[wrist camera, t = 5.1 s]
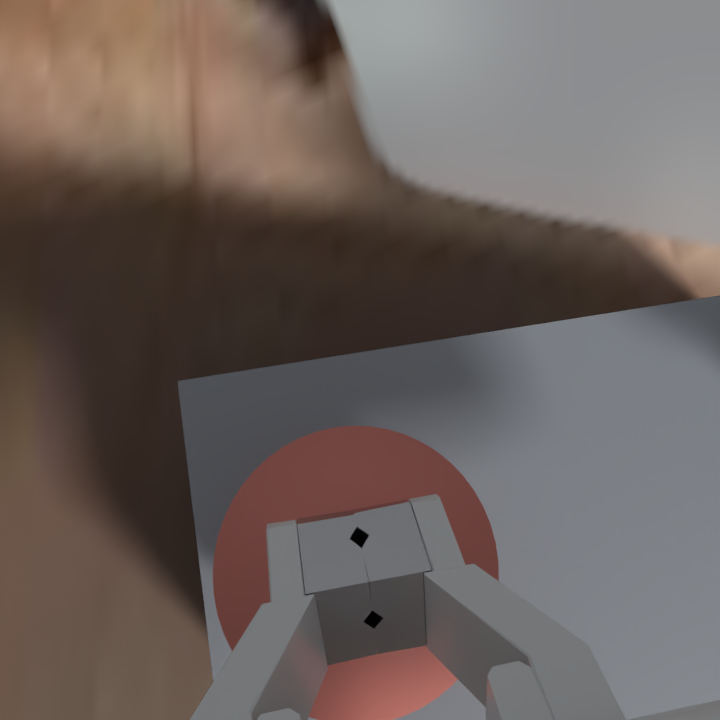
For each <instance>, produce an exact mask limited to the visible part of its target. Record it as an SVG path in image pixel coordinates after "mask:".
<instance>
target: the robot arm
mask: <svg viewBox="0 0 720 720" xmlns="http://www.w3.org/2000/svg"><path fill="white" fill-rule="evenodd" d="M266 539H267V555H268V571H269V587H270V602H269V603H264V604H261V606H260V608H259V609H258V611H257V612H256V614H255V616H254V617H253V619H252V621H251V622H250V624H249V625H248V627H247V629H246V630H245V632H244V633H243V635H242V637H241V638H240V640H239V641H238V643H237V645H236V646H235V648H234V650H233V651H232V653H231V654H230V656H229V658H228V659H227V661H226V662H225V664H224V666H223V667H222V669H221V670H220V672H219V674H218V675H217V677H216V678H215V680H214V682H213V683H212V685H211V687H210V688H209V690H208V691H207V693H206V695H205V696H204V698H203V699H202V701H201V703H200V704H199V706H198V707H197V709H196V711H195V712H194V714H193V716H192V717H191V719H190V720H307V719H308V716H309V714H310V712H311V709H312V707H313V704H314V702H315V699H316V697H317V694H318V692H319V690H320V687H321V685H322V682H323V680H324V677H325V675H326V672H327V670H328V666H327V665H332V664H336V663H340V662H345V661H349V660H353V659H358V658H362V657H367V656H371V655H375V654H381V653H386V652H392V651H398V650H404V649H410V648H416V647H421V646H427V648H428V649H429V650H430V651H431V652H432V653H433V654H434V656H435V657H436V658H437V659H438V660H439V661H440V662H441V663H442V664H443V665H444V666H445V667H446V668H447V669H448V670H449V671H450V672H451V673H452V674H453V675H454V676H455V677H456V678H457V679H458V680H459V681H460V682H461V683H462V684H463V685H464V686H465V687H466V688H467V689H468V690H469V691H470V692H471V693H472V694H473V695H474V696H475V697H476V698H477V699H478V700H479V701H480V702H481V703H482V704H483V705H484V706H485V707H486V720H626V718H625V716H624V714H623V712H622V711H621V709H620V707H619V705H618V703H617V701H616V699H615V697H614V695H613V693H612V691H611V689H610V687H609V685H608V683H607V681H606V679H605V677H604V675H603V673H602V671H601V669H600V667H599V665H598V663H597V661H596V659H595V657H594V655H593V653H592V651H591V649H590V648H589V646H588V644H586V643H585V642H583V641H582V640H581V639H579V638H578V637H576V636H575V635H574V634H572V633H571V632H569V631H568V630H566V629H565V628H564V627H562V626H561V625H559V624H558V623H557V622H555V621H554V620H552V619H551V618H550V617H548V616H547V615H545V614H544V613H543V612H541V611H540V610H538V609H537V608H536V607H534V606H533V605H531V604H530V603H529V602H527V601H526V600H524V599H523V598H522V597H520V596H519V595H517V594H516V593H515V592H513V591H512V590H510V589H509V588H508V587H506V586H505V585H503V584H502V583H501V582H499V581H498V580H496V579H495V578H493V577H492V576H491V575H489V574H488V573H486V572H485V571H484V570H482V569H481V568H479V567H478V566H477V565H475V564H469V565H465V562H464V559H463V557H462V554H461V552H460V549H459V546H458V544H457V541H456V539H455V536H454V533H453V531H452V528H451V525H450V523H449V520H448V518H447V515H446V512H445V510H444V507H443V504H442V502H441V499H440V497H439V496H438V495H437V494H432V495H427V496H422V497H416V498H411V499H409V500H407V499H406V500H401V501H395V502H390V503H385V504H379V505H374V506H369V507H364V508H358V509H353V510H350V511H343V512H337V513H330V514H324V515H317V516H311V517H304V518H298V519H297V521H296V520H289V521H282V522H276V523H269V524H267V528H266ZM628 720H720V700H715V701H711V702H706V703H701V704H697V705H692V706H688V707H683V708H678V709H674V710H669V711H665V712H660V713H655V714H651V715H646V716H642V717H637V718H633V719H628Z"/></svg>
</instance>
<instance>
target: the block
mask: <svg viewBox="0 0 720 720" xmlns="http://www.w3.org/2000/svg"><path fill="white" fill-rule="evenodd" d="M177 382H178V391H179V399H180V407H181V416H182V424H183V432H184V441H185V449H186V457H187V466H188V474H189V482H190V491H191V499H192V507H193V516H194V524H195V532H196V541H197V549H198V557H199V566H200V574H201V582H202V591H203V599H204V607H205V616H206V624H207V632H208V640H209V649H210V657H211V665H212V674H213V682H214V680H215V678H216V677H217V675H218V674H219V672H220V670H221V669H222V667H223V666H224V664H225V662H226V661H227V659H228V658H229V656H230V654H231V653H232V650H231V648H230V646H229V644H228V642H227V640H226V638H225V636H224V633H223V630H222V627H221V624H220V621H219V618H218V615H217V609H216V604H215V599H214V589H213V564H214V553H215V548H216V543H217V538H218V534H219V531H220V528H221V525H222V522H223V519H224V517H225V515H226V513H227V511H228V508H229V506H230V504H231V502H232V500H233V499H234V497H235V496H236V494H237V492H238V491H239V489H240V488H241V486H242V485H243V483H244V482H245V481H246V480H247V479H248V477H249V476H250V475H251V474H252V473H253V471H254V470H255V469H256V468H257V467H258V466H260V465H261V464H262V463H263V462H264V461H265V460H266V459H267V458H268V457H270V456H271V455H272V454H274V453H275V452H277V451H278V450H279V449H281V448H282V447H284V446H286V445H287V444H289V443H291V442H293V441H295V440H297V439H299V438H301V437H304V436H306V435H309V434H312V433H314V432H317V431H321V430H326V429H330V428H334V427H344V426H371V427H377V428H384V429H389V430H392V431H395V432H399V433H402V434H405V435H407V436H410V437H412V438H414V439H416V440H418V441H421V442H422V443H424V444H426V445H427V446H429V447H431V448H432V449H434V450H435V451H437V452H438V453H439V454H441V455H442V456H443V457H444V458H446V459H447V460H448V461H449V462H450V463H451V464H452V465H453V466H454V467H455V468H456V469H457V470H458V471H459V472H460V473H461V474H462V475H463V476H464V477H465V479H466V480H467V481H468V483H469V484H470V486H471V487H472V488H473V490H474V491H475V493H476V495H477V496H478V498H479V500H480V502H481V503H482V505H483V507H484V509H485V512H486V514H487V517H488V519H489V521H490V524H491V527H492V531H493V535H494V538H495V542H496V548H497V555H498V566H499V582H501V583H502V584H503V585H505V586H506V587H508V588H509V589H510V590H512V591H513V592H515V593H516V594H517V595H519V596H520V597H522V598H523V599H524V600H526V601H527V602H529V603H530V604H531V605H533V606H534V607H536V608H537V609H538V610H540V611H541V612H543V613H544V614H545V615H547V616H548V617H550V618H551V619H552V620H554V621H555V622H557V623H558V624H559V625H561V626H562V627H564V628H565V629H566V630H568V631H569V632H571V633H572V634H574V635H575V636H576V637H578V638H579V639H581V640H582V641H583V642H585V643H586V644H588V646H589V648H590V649H591V651H592V653H593V655H594V657H595V659H596V661H597V663H598V665H599V667H600V669H601V671H602V673H603V675H604V677H605V679H606V681H607V683H608V685H609V687H610V689H611V691H612V693H613V695H614V697H615V699H616V701H617V703H618V705H619V707H620V709H621V711H622V712H623V714H624V716H625V718H626V720H628V719H633V718H637V717H642V716H646V715H651V714H655V713H660V712H665V711H669V710H674V709H678V708H683V707H688V706H692V705H697V704H701V703H706V702H711V701H715V700H720V296H714V297H707V298H701V299H695V300H688V301H682V302H676V303H669V304H663V305H657V306H650V307H644V308H638V309H631V310H625V311H619V312H612V313H606V314H600V315H593V316H587V317H581V318H574V319H568V320H562V321H555V322H549V323H542V324H536V325H530V326H523V327H517V328H511V329H504V330H498V331H492V332H485V333H479V334H473V335H466V336H460V337H454V338H447V339H441V340H435V341H428V342H422V343H416V344H409V345H403V346H396V347H390V348H384V349H377V350H371V351H365V352H358V353H352V354H346V355H339V356H333V357H327V358H320V359H314V360H308V361H301V362H295V363H289V364H282V365H276V366H270V367H263V368H257V369H250V370H244V371H238V372H231V373H225V374H219V375H212V376H206V377H200V378H193V379H187V380H181V381H177ZM307 720H317V719H314V718H311V717H308V719H307ZM393 720H486V707H485V706H484V705H483V704H482V703H481V702H480V701H479V700H478V699H477V698H476V697H475V696H474V695H473V694H472V693H471V692H470V691H469V690H468V689H467V688H466V687H465V686H464V685H463V684H462V683H461V682H460V681H459V680H457V681H456V682H455V683H454V684H453V685H452V686H451V687H450V688H449V689H447V690H446V691H445V692H444V693H443V694H441V695H440V696H439V697H438V698H437V699H435V700H433V701H432V702H430V703H429V704H427V705H425V706H424V707H422V708H421V709H418V710H416V711H414V712H412V713H410V714H407V715H405V716H403V717H400V718H396V719H393Z"/></svg>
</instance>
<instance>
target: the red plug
mask: <svg viewBox="0 0 720 720" xmlns="http://www.w3.org/2000/svg"><path fill="white" fill-rule="evenodd" d="M432 494H437V495H438V496H439V497H440V499H441V502H442V504H443V507H444V510H445V512H446V515H447V518H448V520H449V523H450V525H451V528H452V531H453V533H454V536H455V539H456V541H457V544H458V546H459V549H460V552H461V554H462V557H463V559H464V562H465V565H469V564H475V565H477V566H478V567H479V568H481V569H482V570H484V571H485V572H486V573H488V574H489V575H491V576H492V577H493V578H495V579H496V580H498V581H499V566H498V555H497V548H496V542H495V538H494V535H493V531H492V527H491V524H490V521H489V519H488V517H487V514H486V512H485V509H484V507H483V505H482V503H481V502H480V500H479V498H478V496H477V495H476V493H475V491H474V490H473V488H472V487H471V486H470V484H469V483H468V481H467V480H466V479H465V477H464V476H463V475H462V474H461V473H460V472H459V471H458V470H457V469H456V468H455V467H454V466H453V465H452V464H451V463H450V462H449V461H448V460H447V459H446V458H444V457H443V456H442V455H441V454H439V453H438V452H437V451H435V450H434V449H432V448H431V447H429V446H427V445H426V444H424V443H422V442H421V441H418V440H416V439H414V438H412V437H410V436H407V435H405V434H402V433H399V432H395V431H392V430H389V429H384V428H377V427H371V426H344V427H334V428H330V429H326V430H321V431H317V432H314V433H312V434H309V435H306V436H304V437H301V438H299V439H297V440H295V441H293V442H291V443H289V444H287V445H286V446H284V447H282V448H281V449H279V450H278V451H277V452H275V453H274V454H272V455H271V456H270V457H268V458H267V459H266V460H265V461H264V462H263V463H262V464H261V465H260V466H258V467H257V468H256V469H255V470H254V471H253V473H252V474H251V475H250V476H249V477H248V479H247V480H246V481H245V482H244V483H243V485H242V486H241V488H240V489H239V491H238V492H237V494H236V496H235V497H234V499H233V500H232V502H231V504H230V506H229V508H228V511H227V513H226V515H225V517H224V519H223V522H222V525H221V528H220V531H219V534H218V538H217V543H216V548H215V553H214V564H213V589H214V599H215V604H216V609H217V615H218V618H219V621H220V624H221V627H222V630H223V633H224V636H225V638H226V640H227V642H228V644H229V646H230V648H231V650H232V651H233V650H234V648H235V646H236V645H237V643H238V641H239V640H240V638H241V637H242V635H243V633H244V632H245V630H246V629H247V627H248V625H249V624H250V622H251V621H252V619H253V617H254V616H255V614H256V612H257V611H258V609H259V608H260V606H261V604H264V603H269V602H270V587H269V571H268V555H267V539H266V528H267V524H269V523H276V522H282V521H289V520H296V521H297V519H298V518H304V517H311V516H317V515H324V514H330V513H337V512H343V511H350V510H353V509H358V508H364V507H369V506H374V505H379V504H385V503H390V502H395V501H401V500H406V499H407V500H409V499H411V498H416V497H422V496H427V495H432ZM327 666H328V670H327V672H326V675H325V677H324V680H323V682H322V685H321V687H320V690H319V692H318V694H317V697H316V699H315V702H314V704H313V707H312V709H311V712H310V714H309V716H308V717H311V718H314V719H317V720H393V719H396V718H400V717H403V716H405V715H407V714H410V713H412V712H414V711H416V710H418V709H421V708H422V707H424V706H425V705H427V704H429V703H430V702H432V701H433V700H435V699H437V698H438V697H439V696H440V695H441V694H443V693H444V692H445V691H446V690H447V689H449V688H450V687H451V686H452V685H453V684H454V683H455V682H456V681H457V680H458V679H457V678H456V677H455V676H454V675H453V674H452V673H451V672H450V671H449V670H448V669H447V668H446V667H445V666H444V665H443V664H442V663H441V662H440V661H439V660H438V659H437V658H436V657H435V656H434V654H433V653H432V652H431V651H430V650H429V649H428V648H427V646H421V647H416V648H410V649H404V650H398V651H392V652H386V653H381V654H375V655H371V656H367V657H362V658H358V659H353V660H349V661H345V662H340V663H336V664H332V665H327Z"/></svg>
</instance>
